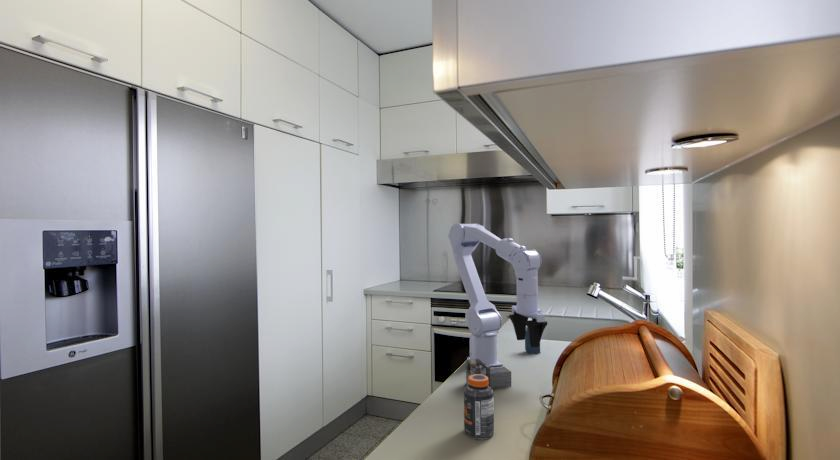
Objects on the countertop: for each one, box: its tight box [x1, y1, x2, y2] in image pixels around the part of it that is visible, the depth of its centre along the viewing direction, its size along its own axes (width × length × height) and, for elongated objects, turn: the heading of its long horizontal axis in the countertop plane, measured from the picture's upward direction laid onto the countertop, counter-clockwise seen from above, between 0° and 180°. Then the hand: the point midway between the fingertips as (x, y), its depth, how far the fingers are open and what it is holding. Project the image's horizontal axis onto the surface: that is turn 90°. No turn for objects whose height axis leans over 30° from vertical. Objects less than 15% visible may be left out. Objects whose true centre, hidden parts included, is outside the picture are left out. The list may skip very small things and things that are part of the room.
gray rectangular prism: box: [465, 366, 512, 390], centre depth 110 cm, size 4×11×4 cm, turn 106°
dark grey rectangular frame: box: [466, 359, 482, 374], centre depth 109 cm, size 7×1×7 cm, turn 16°
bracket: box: [476, 359, 491, 387], centre depth 110 cm, size 7×1×6 cm, turn 16°
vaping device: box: [524, 326, 541, 354], centre depth 141 cm, size 3×5×12 cm, turn 78°
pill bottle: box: [463, 374, 495, 440], centre depth 85 cm, size 6×6×11 cm
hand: (527, 343), depth 117 cm, fingers open, 7 cm apart
